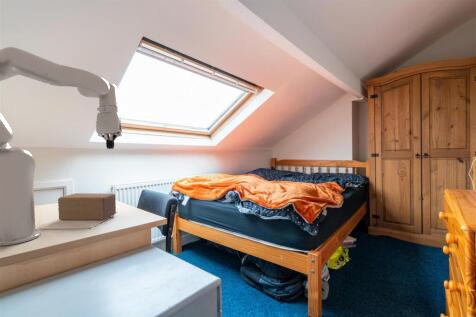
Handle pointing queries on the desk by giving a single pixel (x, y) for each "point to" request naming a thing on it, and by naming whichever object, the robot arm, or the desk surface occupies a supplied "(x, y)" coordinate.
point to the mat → (71, 224)
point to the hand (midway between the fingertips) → (110, 148)
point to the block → (86, 206)
